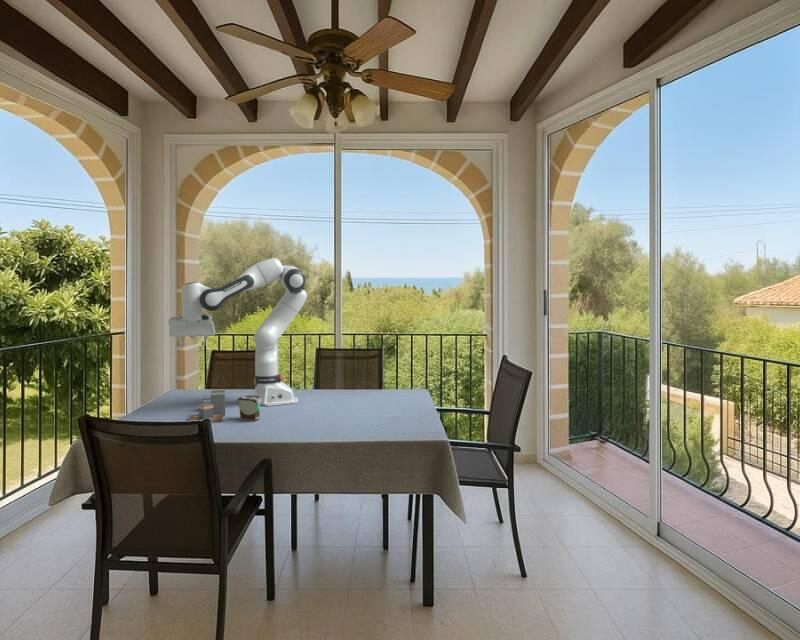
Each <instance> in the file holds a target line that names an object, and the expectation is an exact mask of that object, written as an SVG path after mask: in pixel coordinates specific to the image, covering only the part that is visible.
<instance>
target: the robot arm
mask: <svg viewBox="0 0 800 640" xmlns="http://www.w3.org/2000/svg"><path fill="white" fill-rule="evenodd" d="M305 275H306V274H304V272H303V271H302V270H300V269H299V268H298V267H296V266H293V265H291V264H282V263H281V261H280V260H279V259H278V258H274V257H273V258H268V259H265V260H262V261H259V262H257V263H255V264H253V265H251V266H249V267H248V268H247V269H246V270H244V271H243V272H242V273H241V274H240V275H239V276H238V278H236V279H235V280H233V281H231V282H229V283H227V284H225V285H223V286H221V287H217V288H211V287H209V286H205V285H204V284H202V283H201V282H199V281H192V282H187V283H184V284H183V286H182V289H181V303H182V308H181V316H172V317H170V318H169V319H168V326H169V329H168V330H169V333H168V334H169V337H171V338H174V337H177V340H178V341H179V343H180V344H179V345H180V347H184V346H185V342H184V341H182V337H203V338H204V340H203V341H201V346H206V341H207V340H208V336H210V337H211V336H215V335H216V327H215V324H214V321H213V315H211V314H208V313H204V312H203V309H204V310H206V311H209V312H213V311H217V310H219V309H220V308H221V307H222V306H223V305H224V303H225V302H226V301H227V300H229V299H230V298H234V296H237V295H239V294H241V293H243V292H246V291H250V290H251V291H252V290H256V289H259V288H261V287H264V286H266V285H268V284H270V283H272V282H275V281H278V282H279V283H280V284H281V285H282V286H283V287H285V293H284V294H283V295H282V297H281V298H280V299H279V301H278V302H277V303H276V305H275V306H274V307H273V309H272V310H271V311H270V313H269V314H268V315H267V316H266V318H265V319H264V321H262V323H261V324H260V326H259V327H258V329H257V330H256V331H255V333H254V336H253V341H254V344H255V357H254V360H255V361H254V366H255V367H254V370H255V374H254V378H253V380H254V387H255V389H254V395H257V396H260V398H261V400H262V402H261V403H260V406H265V407H271V406H273V407H274V406H279V405H280V406H282V405H290V404H296V403H298V402H299V398H298V397H297V396H295V394H294V391H293V389H292V387H291V386H289V385H288V384H286V383H285V382H283V381H284V375H281V374H279V369H278V368H279V366H278V365H279V364H278V361H279V358H278V357H279V356H278V355H279V354H278V353H279V351H278V346H279V345H278V344H279V343H278V341H279V339H280V338H281V337H282V335H283V334H284V332H285V331H286V330H287V328H288V327H289V326H290V324H291V323H292V321H293V320H294V319H295V317H296V316H297V315H298V313H299V312H300V310H301V309H302V307H303V306H304V304H305V302H306V300H307V299H308V298H307V297H308V294H307V292H306V290H305V285H306V276H305Z"/></svg>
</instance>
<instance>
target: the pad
mask: <svg viewBox="0 0 800 640" xmlns="http://www.w3.org/2000/svg"><path fill="white" fill-rule="evenodd" d="M223 418H224V416H223V414H217V415H213V418H210V419H211V422H212V423H211V424H214V423H223ZM194 420H202V419H201V418H199V415H191V416H189V417H188V420H187V422H188V421H194Z"/></svg>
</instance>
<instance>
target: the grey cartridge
mask: <svg viewBox="0 0 800 640" xmlns="http://www.w3.org/2000/svg"><path fill="white" fill-rule="evenodd" d="M204 403H210V404H211V396H205V397H202V404H204Z"/></svg>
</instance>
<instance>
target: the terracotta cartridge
mask: <svg viewBox="0 0 800 640" xmlns="http://www.w3.org/2000/svg"><path fill="white" fill-rule="evenodd" d="M198 416H199V418H201V419H204V418H213V404H210V403H204V404H203V403H199V404H198Z"/></svg>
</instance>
